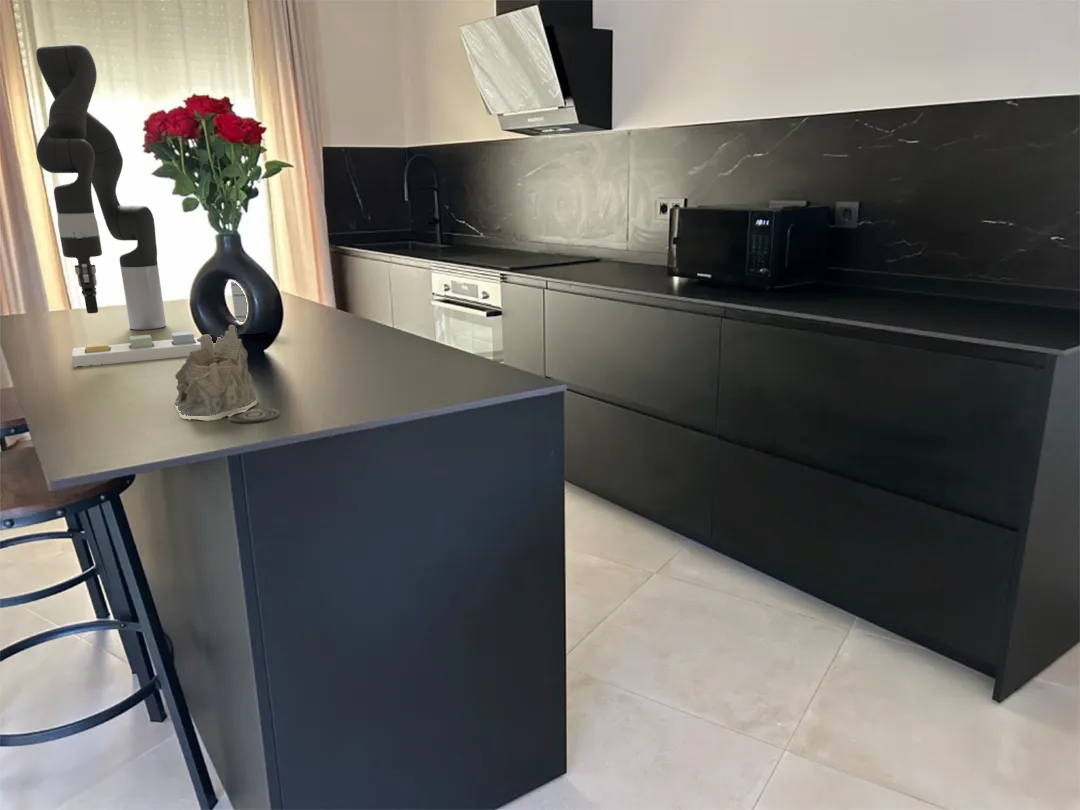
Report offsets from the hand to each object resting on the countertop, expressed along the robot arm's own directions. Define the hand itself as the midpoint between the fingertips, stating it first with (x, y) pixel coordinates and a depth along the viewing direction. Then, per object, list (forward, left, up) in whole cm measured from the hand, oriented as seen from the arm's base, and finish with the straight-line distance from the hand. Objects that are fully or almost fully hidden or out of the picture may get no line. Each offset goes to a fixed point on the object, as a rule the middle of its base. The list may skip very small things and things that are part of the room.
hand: (92, 312), depth 174 cm
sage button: (0, +9, -9) cm, 13 cm away
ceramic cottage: (+54, +17, -11) cm, 58 cm away
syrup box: (-18, +36, -11) cm, 41 cm away
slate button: (0, +18, -9) cm, 20 cm away
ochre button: (0, 0, -10) cm, 10 cm away
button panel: (0, +11, -11) cm, 15 cm away
